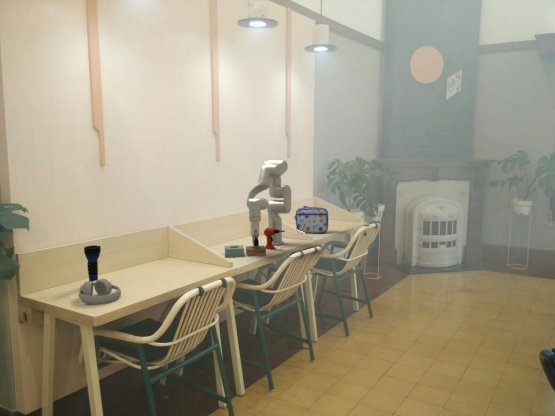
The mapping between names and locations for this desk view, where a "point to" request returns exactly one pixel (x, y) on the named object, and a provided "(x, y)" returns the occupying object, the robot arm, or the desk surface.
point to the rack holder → (234, 251)
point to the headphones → (101, 288)
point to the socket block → (255, 251)
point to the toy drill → (270, 237)
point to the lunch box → (312, 219)
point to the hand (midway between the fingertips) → (255, 244)
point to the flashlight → (92, 261)
